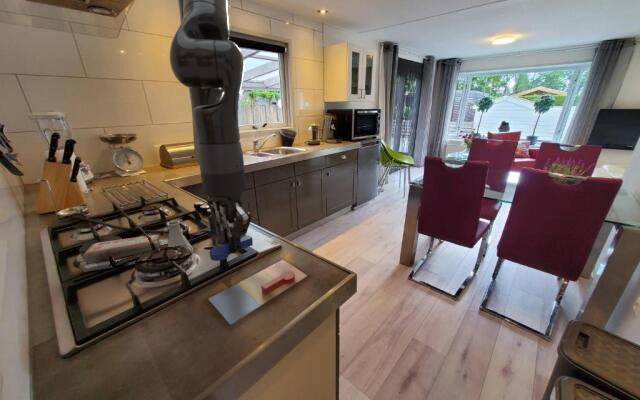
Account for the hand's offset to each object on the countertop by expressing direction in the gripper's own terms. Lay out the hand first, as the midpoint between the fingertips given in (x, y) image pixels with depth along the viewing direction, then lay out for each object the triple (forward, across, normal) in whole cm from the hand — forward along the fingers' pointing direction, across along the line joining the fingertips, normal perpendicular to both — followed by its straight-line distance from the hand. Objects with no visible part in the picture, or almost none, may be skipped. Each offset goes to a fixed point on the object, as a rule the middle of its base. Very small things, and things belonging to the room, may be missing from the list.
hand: (233, 249), depth 52 cm
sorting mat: (+13, 0, -5) cm, 14 cm away
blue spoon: (0, 0, 0) cm, 0 cm away
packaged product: (+13, +37, +13) cm, 41 cm away
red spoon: (+13, -3, -8) cm, 15 cm away
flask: (+13, +29, +2) cm, 32 cm away
